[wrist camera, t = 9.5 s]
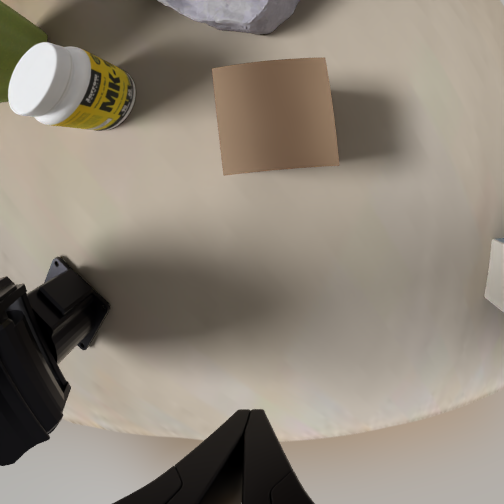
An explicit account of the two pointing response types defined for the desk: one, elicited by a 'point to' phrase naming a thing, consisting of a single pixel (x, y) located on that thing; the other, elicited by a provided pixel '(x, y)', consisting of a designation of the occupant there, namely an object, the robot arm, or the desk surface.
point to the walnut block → (275, 115)
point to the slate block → (496, 274)
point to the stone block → (236, 13)
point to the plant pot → (14, 43)
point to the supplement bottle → (70, 88)
